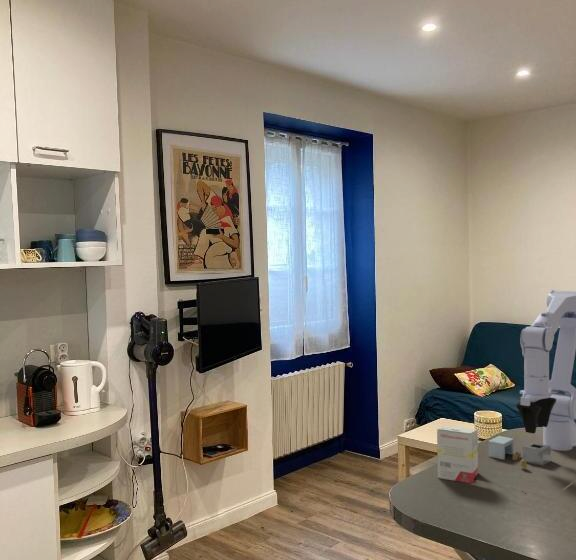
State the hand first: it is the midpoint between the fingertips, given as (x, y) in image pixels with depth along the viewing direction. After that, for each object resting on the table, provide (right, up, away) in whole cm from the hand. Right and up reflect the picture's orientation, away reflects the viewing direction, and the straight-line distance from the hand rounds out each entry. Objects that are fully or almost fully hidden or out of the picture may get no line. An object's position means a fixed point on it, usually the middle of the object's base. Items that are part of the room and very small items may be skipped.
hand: (536, 429), depth 152 cm
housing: (-7, -8, +5) cm, 12 cm away
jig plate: (-5, -9, +1) cm, 11 cm away
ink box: (-22, -10, -7) cm, 25 cm away
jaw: (0, -8, 0) cm, 8 cm away
